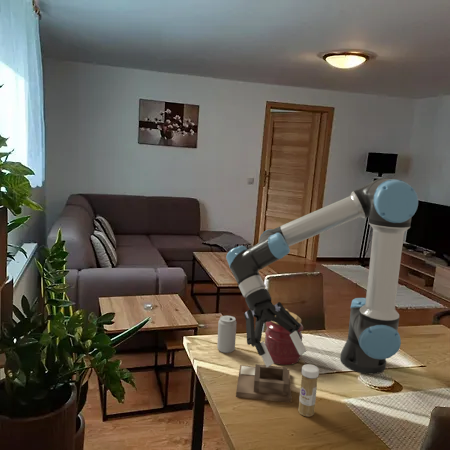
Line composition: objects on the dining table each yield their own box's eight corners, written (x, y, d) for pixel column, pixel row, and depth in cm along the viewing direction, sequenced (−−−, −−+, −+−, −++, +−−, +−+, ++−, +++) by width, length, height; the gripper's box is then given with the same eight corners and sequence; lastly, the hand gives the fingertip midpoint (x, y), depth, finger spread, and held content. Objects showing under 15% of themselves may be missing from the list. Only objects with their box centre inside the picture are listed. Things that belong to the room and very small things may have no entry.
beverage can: (233, 355, 150) (235, 322, 148) (215, 352, 151) (216, 320, 149) (236, 347, 156) (238, 316, 154) (219, 344, 157) (220, 313, 155)
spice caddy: (288, 374, 139) (290, 360, 138) (291, 402, 123) (292, 386, 122) (239, 369, 140) (240, 355, 140) (235, 396, 125) (236, 380, 124)
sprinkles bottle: (294, 412, 119) (298, 367, 116) (303, 405, 122) (307, 361, 120) (309, 419, 116) (313, 373, 113) (317, 412, 119) (322, 367, 117)
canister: (304, 366, 145) (309, 316, 142) (266, 365, 144) (270, 315, 141) (295, 348, 158) (299, 303, 155) (260, 347, 157) (264, 302, 154)
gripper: (277, 292, 141) (308, 353, 132) (217, 306, 126) (247, 375, 117) (290, 281, 136) (323, 343, 127) (229, 294, 121) (262, 366, 112)
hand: (287, 359), depth 122 cm, fingers open, 13 cm apart
